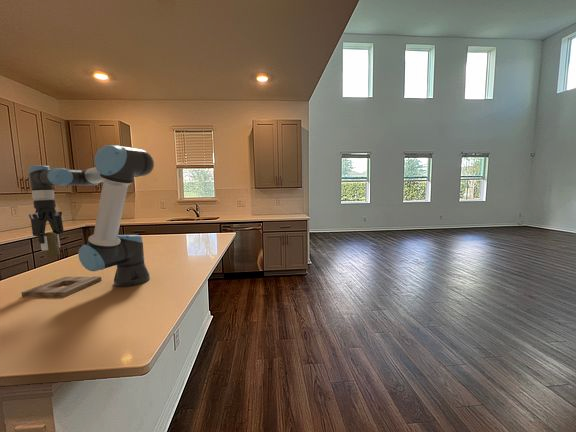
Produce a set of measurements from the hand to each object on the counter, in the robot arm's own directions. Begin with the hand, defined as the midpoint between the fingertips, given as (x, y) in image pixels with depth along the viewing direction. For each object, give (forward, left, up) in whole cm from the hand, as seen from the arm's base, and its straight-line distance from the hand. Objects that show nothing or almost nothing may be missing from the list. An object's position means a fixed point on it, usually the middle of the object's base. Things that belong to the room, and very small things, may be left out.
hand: (51, 248), depth 125 cm
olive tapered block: (0, 0, -3) cm, 3 cm away
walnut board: (-8, +3, -18) cm, 20 cm away
